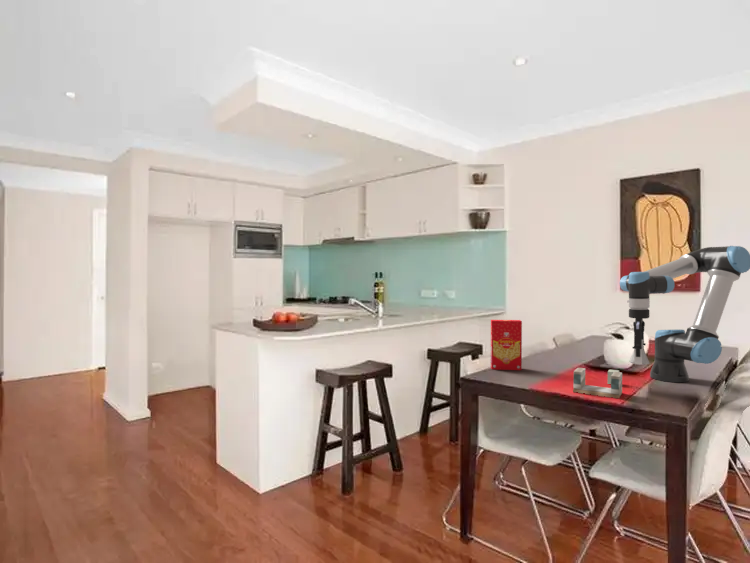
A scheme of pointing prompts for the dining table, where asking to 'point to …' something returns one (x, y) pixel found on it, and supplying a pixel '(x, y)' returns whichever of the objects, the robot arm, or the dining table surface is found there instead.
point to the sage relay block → (610, 375)
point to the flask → (644, 357)
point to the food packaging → (506, 344)
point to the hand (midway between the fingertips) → (639, 362)
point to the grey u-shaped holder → (595, 390)
